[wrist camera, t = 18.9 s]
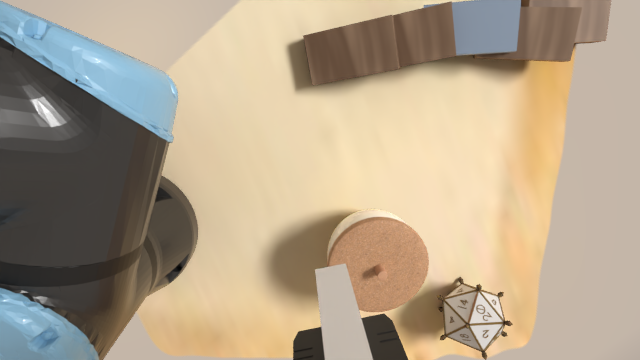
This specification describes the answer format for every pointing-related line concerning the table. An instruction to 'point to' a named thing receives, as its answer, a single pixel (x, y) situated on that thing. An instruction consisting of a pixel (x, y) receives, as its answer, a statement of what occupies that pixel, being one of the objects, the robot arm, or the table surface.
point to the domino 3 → (485, 26)
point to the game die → (473, 316)
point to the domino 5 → (582, 17)
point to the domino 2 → (425, 34)
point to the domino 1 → (352, 50)
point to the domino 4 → (543, 34)
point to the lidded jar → (379, 258)
